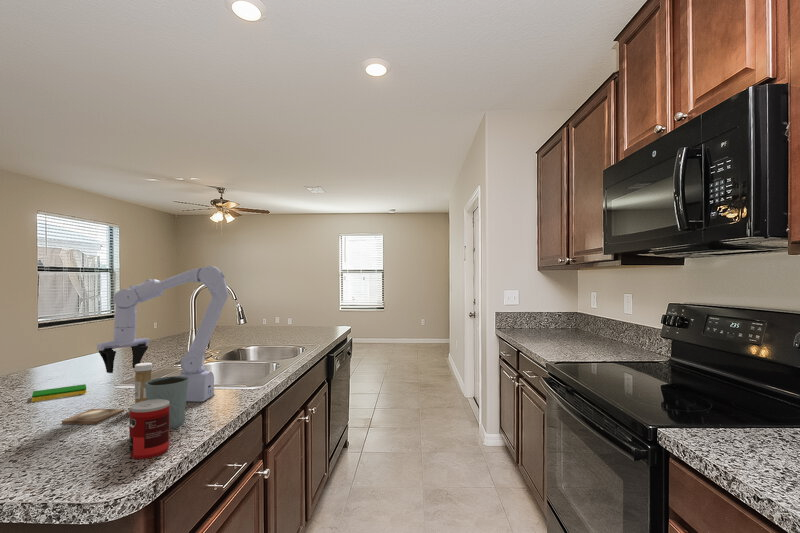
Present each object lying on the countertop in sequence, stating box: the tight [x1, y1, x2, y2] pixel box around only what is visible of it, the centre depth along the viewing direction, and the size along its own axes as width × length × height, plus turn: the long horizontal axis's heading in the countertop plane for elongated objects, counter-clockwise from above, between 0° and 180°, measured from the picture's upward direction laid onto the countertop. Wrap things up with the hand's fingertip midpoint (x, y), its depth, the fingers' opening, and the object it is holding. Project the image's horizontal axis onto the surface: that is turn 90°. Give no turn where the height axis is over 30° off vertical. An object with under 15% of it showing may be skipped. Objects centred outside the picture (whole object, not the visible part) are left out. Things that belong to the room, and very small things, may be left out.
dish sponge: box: [31, 383, 87, 403], centre depth 136 cm, size 7×14×2 cm, turn 129°
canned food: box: [128, 399, 170, 460], centre depth 92 cm, size 8×8×11 cm
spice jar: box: [134, 362, 153, 404], centre depth 124 cm, size 5×5×14 cm
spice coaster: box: [61, 408, 125, 425], centre depth 115 cm, size 10×10×1 cm
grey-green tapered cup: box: [145, 375, 188, 430], centre depth 110 cm, size 10×10×12 cm
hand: (122, 370), depth 127 cm, fingers open, 7 cm apart
